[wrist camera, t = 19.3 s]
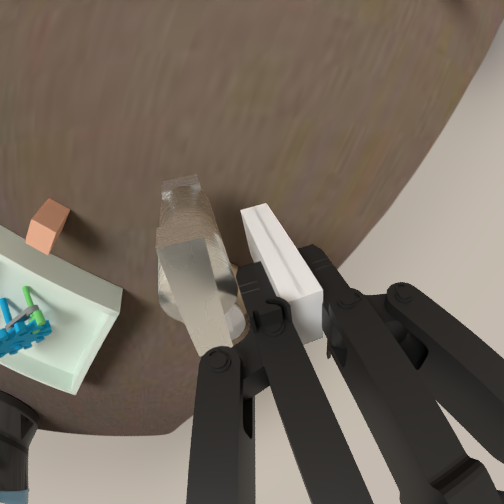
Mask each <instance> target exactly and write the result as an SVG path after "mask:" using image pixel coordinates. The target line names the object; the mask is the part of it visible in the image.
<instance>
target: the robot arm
mask: <svg viewBox="0 0 504 504" xmlns="http://www.w3.org/2000/svg"><path fill="white" fill-rule="evenodd" d="M240 211H241V215H242V220H243V224H244V228H245V233H246V237H247V242H248V246H249V250H250V254H251V256H252V259H253V261H254V263H252V264H249V265H245V266H242V267H239V268H238V270H237V274H236V280H237V283H238V286H239V290H240V293H241V297H242V300H243V303H244V306H245V310H246V313H247V316H248V319H249V322H250V330H249V332H248V334H247V336H246V337H245V338H244V339H243V340H242V341H240V342H239V343H238V344H236V345H234V346H233V347H231V348H230V347H228V346H218V347H214V348H212V349H210V350H208V351H207V352H206V353H205V354H204V355H203V356H202V358H201V361H200V364H199V371H198V380H197V388H196V397H195V407H194V416H193V426H192V437H191V448H190V460H189V472H188V487H187V500H186V501H187V502H186V504H255V395H256V394H258V393H259V392H261V391H262V390H264V389H265V388H267V387H268V386H270V387H271V390H272V393H273V396H274V399H275V402H276V405H277V408H278V411H279V414H280V417H281V420H282V423H283V425H284V428H285V431H286V434H287V437H288V440H289V443H290V446H291V448H292V451H293V454H294V457H295V460H296V462H297V465H298V468H299V471H300V473H301V476H302V479H303V482H304V484H305V487H306V490H307V492H308V495H309V498H310V501H311V503H312V504H374V503H373V501H372V499H371V496H370V494H369V492H368V489H367V487H366V485H365V483H364V480H363V478H362V476H361V473H360V471H359V469H358V467H357V465H356V462H355V460H354V458H353V455H352V453H351V451H350V449H349V446H348V444H347V442H346V439H345V437H344V435H343V433H342V430H341V428H340V426H339V424H338V422H337V419H336V417H335V415H334V413H333V411H332V408H331V406H330V404H329V401H328V399H327V397H326V395H325V393H324V390H323V388H322V386H321V384H320V382H319V379H318V377H317V375H316V373H315V371H314V368H313V366H312V364H311V362H310V359H309V357H308V355H307V353H306V350H305V348H304V346H303V345H304V344H306V343H309V342H312V341H315V340H317V339H320V338H322V337H323V331H324V333H325V335H326V337H327V358H328V359H329V358H330V356H331V355H332V357H333V358H334V360H335V362H336V364H337V366H338V368H339V370H340V372H341V374H342V376H343V378H344V379H345V382H346V383H347V386H348V387H349V389H350V391H351V393H352V395H353V397H354V399H355V401H356V403H357V405H358V407H359V409H360V411H361V413H362V415H363V417H364V419H365V421H366V423H367V425H368V427H369V428H370V431H371V433H372V435H373V437H374V439H375V441H376V443H377V445H378V447H379V449H380V451H381V453H382V455H383V457H384V459H385V461H386V463H387V466H388V468H389V470H390V472H391V474H392V476H393V478H394V480H395V482H396V484H397V486H398V488H399V491H400V503H401V504H504V491H499V490H496V488H495V486H494V483H493V482H492V480H491V477H490V475H489V473H488V471H487V469H486V468H485V466H484V465H483V464H482V463H481V462H480V461H479V460H476V459H473V458H470V457H469V456H468V455H467V454H466V452H465V450H464V449H463V447H462V445H461V443H460V441H459V440H458V438H457V436H456V434H455V432H454V431H453V429H452V427H451V426H450V424H449V422H448V420H447V419H446V417H445V415H444V414H443V412H442V410H441V409H440V407H439V405H438V404H437V402H438V403H439V404H441V406H442V407H444V408H445V409H446V410H447V411H448V412H449V413H450V414H451V415H452V416H453V417H454V418H455V419H456V420H457V421H458V422H459V423H460V424H461V425H462V426H463V427H464V428H465V429H466V430H467V431H468V432H469V433H470V434H471V435H472V436H473V437H474V438H475V439H476V440H477V441H478V442H479V443H480V444H481V445H482V446H483V447H484V448H485V449H486V450H487V451H488V452H489V453H490V454H491V455H492V456H493V457H494V458H496V459H497V460H499V461H500V462H502V463H504V359H503V358H502V357H501V356H499V354H497V353H496V352H495V351H494V350H493V349H492V348H490V347H489V346H488V345H487V344H486V343H485V342H483V341H482V340H481V339H480V338H479V337H478V336H477V335H475V334H474V333H473V332H472V331H471V330H469V329H468V328H467V327H466V326H464V325H463V324H462V323H461V322H459V321H458V320H457V319H456V318H455V317H453V316H452V315H451V314H450V313H448V312H447V311H446V310H444V309H443V308H442V307H440V306H439V305H438V304H437V303H435V302H434V301H433V300H432V299H430V298H429V297H428V296H426V295H425V294H424V293H422V292H421V291H420V290H418V289H417V288H415V287H414V286H412V285H411V284H409V283H404V282H400V283H395V284H393V285H391V286H390V287H389V288H388V289H387V294H380V295H363V294H362V293H361V292H360V291H358V290H356V289H353V288H350V287H349V286H348V284H347V283H346V282H345V280H344V279H343V277H342V276H341V275H340V273H339V272H338V271H337V269H336V268H335V266H334V265H332V262H331V261H330V260H329V259H328V257H327V256H326V254H325V253H324V252H323V250H322V249H320V248H318V247H316V246H315V245H313V244H312V245H309V246H306V247H302V248H299V249H297V248H296V247H295V245H294V244H293V242H292V241H291V239H290V238H289V236H288V235H287V233H286V232H285V230H284V229H283V227H282V226H281V224H280V223H279V221H278V220H277V218H276V217H275V215H274V214H273V212H272V211H271V209H270V208H269V206H268V205H267V204H266V203H264V204H261V205H257V206H253V207H250V208H246V209H243V210H240ZM436 401H437V402H436ZM38 421H39V418H38V415H37V414H36V413H35V412H34V411H33V410H32V409H31V408H30V407H28V406H27V405H25V404H24V403H22V402H21V401H19V400H17V399H16V398H14V397H12V396H10V395H8V394H6V393H3V392H1V391H0V502H1V503H5V504H28V491H29V489H28V450H29V445H30V443H31V441H32V438H33V436H34V435H35V432H36V430H37V428H38Z"/></svg>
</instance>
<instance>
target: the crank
mask: <svg viewBox="0 0 504 504" xmlns="http://www.w3.org/2000/svg"><path fill="white" fill-rule="evenodd" d="M161 193H162V197H163V200H162V203H161V208H160V227H158V228H157V233H156V251H157V254H158V298H159V303H160V305H161V307H162V309H163V310H164V311H165V312H166V313H167V314H168V315H169V316H170V317H172V318H174V319H176V320H178V321H181V322H184V323H185V325H186V327H187V330H188V332H189V334H190V337H191V339H192V341H193V343H194V345H195V348H196V350H197V352H198V354H199V356H203V355H204V354H205V353H206V352H207V351H208V350H210V349H212V348H214V347H218V346H228V347H230V348H231V347H233V345H232V340H234V339H235V338H237V337H238V336H239V335H240V334H241V333H242V332H243V331H244V329H245V325H246V321H245V318H244V315H243V312H242V309H241V306H240V303H239V300H238V297H237V295H238V286H237V283H236V280H235V277H234V274H233V271H232V268H231V265H230V262H229V259H228V256H227V253H226V250H225V247H224V244H223V241H222V238H221V235H220V232H219V229H218V226H217V223H216V219H215V216H214V213H213V210H212V207H211V204H210V201H209V198H208V197H207V195H206V194H205V193H204V192H203V191H202V190H201V188H200V183H199V179H198V176H197V174H192V175H188V176H184V177H180V178H176V179H172V180H168V181H164V182H162V191H161Z"/></svg>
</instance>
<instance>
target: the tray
mask: <svg viewBox="0 0 504 504" xmlns="http://www.w3.org/2000/svg"><path fill="white" fill-rule="evenodd" d="M24 286H28V289H29V292H30V295H31V298H32V301H33V304H34V305H38V307H39V310H42V313H43V316H44V318H45V321H46V320H49V323H50V325H51V330H52V333H51V334H49V335H48V336H44V338H45V339H44V340H43V341H41V342H39V343H36V341H33V342H31V344H32V347H31V348H28V349H25V350H24V348H22V349H21V350H18V353H16V354H13V355H9V353H7V354H6V355H4V356H3V357H1V358H0V364H2V365H4V366H6V367H8V368H10V369H12V370H14V371H16V372H18V373H20V374H22V375H25V376H27V377H29V378H32V379H34V380H36V381H39V382H41V383H43V384H46V385H48V386H51V387H54V388H56V389H59V390H62V391H64V392H67V393H70V394H73V395H76V393H77V391H78V389H79V387H80V385H81V383H82V381H83V379H84V377H85V375H86V373H87V371H88V369H89V367H90V365H91V363H92V362H93V360H94V358H95V356H96V354H97V352H98V350H99V349H100V347H101V345H102V343H103V341H104V340H105V338H106V336H107V334H108V332H109V331H110V329H111V327H112V325H113V324H114V322H115V320H116V319H117V317H118V315H119V314H120V307H121V299H122V291H123V288H121V287H119V286H116V285H114V284H112V283H110V282H108V281H106V280H103V279H101V278H99V277H97V276H95V275H93V274H91V273H89V272H87V271H84V270H82V269H80V268H78V267H76V266H74V265H72V264H70V263H68V262H66V261H64V260H62V259H61V258H59V257H57V256H55V255H53V254H51V253H49V255H46V254H44V253H42V252H41V251H39V250H37V249H35V248H33V247H31V246H30V245H28V244H26V243H25V239H24V238H22V237H20V236H18V235H17V234H15V233H13V232H12V231H10V230H8V229H7V228H5V227H3V226H2V225H0V299H1V298H6V300H7V303H8V307H9V310H10V313H11V316H12V319H14V318H15V317H16V316H18V315H19V314H20V313H21V312H22V311H24V310H25V309H26V308H27V307H28V305H27V302H26V299H25V296H24V293H23V290H22V287H24ZM30 319H32V318H31V317H30V318H29V319H27V320H26V321H25V324H26V325H27V324H29V322H28V321H29V320H30ZM5 326H6V322H5V319H4V316H3V313H2V309H1V306H0V329H2V328H5Z"/></svg>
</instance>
